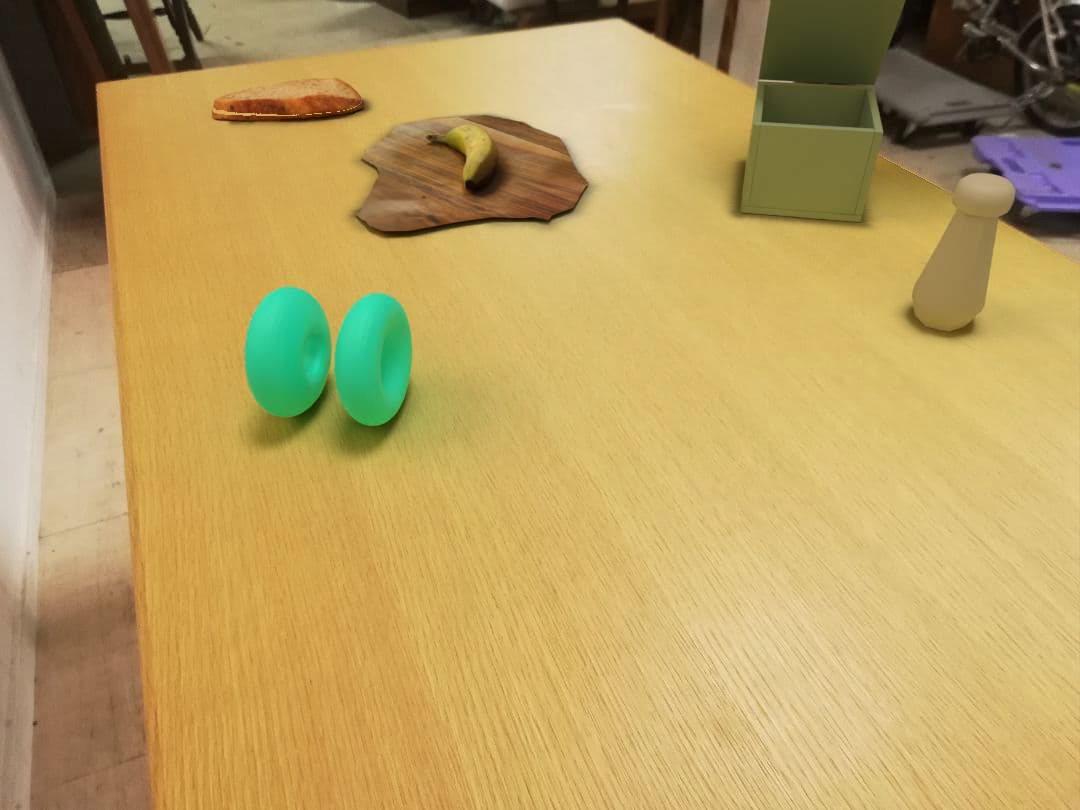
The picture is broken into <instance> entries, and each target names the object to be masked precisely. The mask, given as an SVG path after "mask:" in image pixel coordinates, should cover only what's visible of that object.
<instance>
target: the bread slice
mask: <svg viewBox="0 0 1080 810" xmlns="http://www.w3.org/2000/svg"><path fill="white" fill-rule="evenodd" d="M361 98H362V96H361V95H360V94H359V92H358V91H357V90H356V89H355V88H354V87H353V86H352V85H350V84H348V83H347V82H345V81H344V80H342V79H341V78H339V77H338V78H337V77H333V78H309V79H307V78H306V79H301V80H288V81H283V82H279V83H275V84H266V85H263V86H257V87H251V88H245V89H243V90H239V91H234V92H231V93H227V94H224V95H222V96H220V97H218V98H216V99H214V100H213V106H212V108H213V107H214V108H215V109H216V110H224V111H227V112H235V113H236V112H237V113H255V114H256V113H257V114H260V113H261V114H277V115H293V114H294V115H296V114H297V116H256V115H251V116H243V115H225V114H217V113H214V112H213V110H212V109H211V116H212V118H213V119H215V120H228V121H239V122H240V121H282V120H296V119H297V120H298V119H302V120H305V119H306V120H307V119H311V118H313V119H314V118H316V119H318V118H324V117H329V116H341V115H346V114H350V113H353V112H355V111H359V110H363V109H364V108H365V103H364V100H363V99H362V100H361ZM361 101H362V103H361ZM360 103H361V104H360ZM359 104H360V105H359ZM358 105H359V106H358ZM355 106H357V107H355ZM353 107H355V108H353ZM350 108H352V109H350ZM347 109H349V110H347ZM343 110H345V111H343ZM337 111H340V112H337ZM326 112H331V113H326ZM314 113H322V114H314ZM298 114H299V115H298ZM306 114H312V115H306Z"/></svg>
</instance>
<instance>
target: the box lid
mask: <svg viewBox="0 0 1080 810" xmlns="http://www.w3.org/2000/svg"><path fill="white" fill-rule="evenodd" d="M906 1H907V0H769V7H768V13H767V19H766V26H765V33H764V39H763V44H762V45H763V46H762V52H761V59H760V65H759V72H758V78H757V79H758V81H776V82H797V83H817V84H838V85H858V86H875V85H876V82H877V80H878V77H879V75H880V71H881V69H882V66H883V63H884V60H885V57H886V55H887V52H888V49H889V47H890V44H891V42H892V38H893V36H894V33H895V30H896V27H897V25H898V23H899V20H900V17H901V15H902V12H903V9H904V6H905V4H906Z"/></svg>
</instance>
